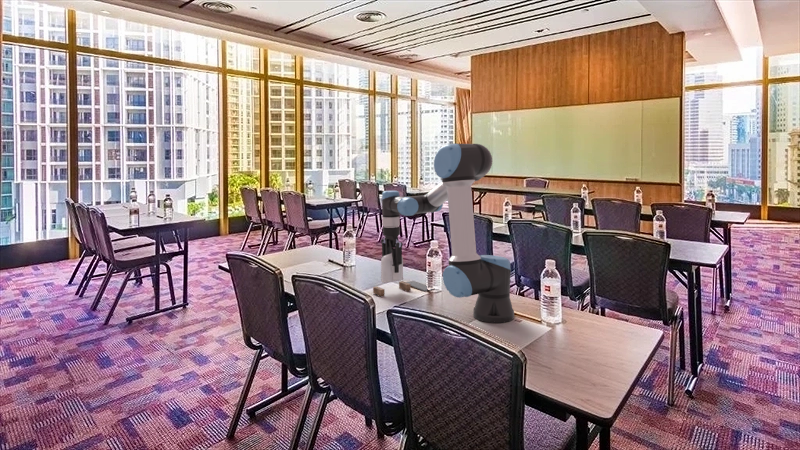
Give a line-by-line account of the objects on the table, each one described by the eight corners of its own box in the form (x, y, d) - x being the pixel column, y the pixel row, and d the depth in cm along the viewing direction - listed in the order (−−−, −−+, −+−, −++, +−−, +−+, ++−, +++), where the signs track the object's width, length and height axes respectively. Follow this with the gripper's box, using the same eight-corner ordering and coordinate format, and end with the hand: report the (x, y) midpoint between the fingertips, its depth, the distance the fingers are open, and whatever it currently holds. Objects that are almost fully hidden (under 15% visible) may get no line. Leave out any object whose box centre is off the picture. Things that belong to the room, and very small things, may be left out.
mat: (434, 289, 225) (434, 288, 225) (424, 291, 222) (424, 290, 222) (413, 281, 238) (413, 280, 238) (403, 283, 235) (403, 282, 235)
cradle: (410, 290, 224) (410, 284, 223) (380, 296, 214) (380, 290, 214) (402, 287, 228) (402, 281, 228) (373, 293, 219) (373, 287, 219)
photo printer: (399, 278, 225) (398, 251, 223) (404, 280, 222) (404, 253, 220) (379, 282, 219) (379, 254, 218) (384, 284, 216) (384, 256, 214)
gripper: (410, 227, 212) (410, 281, 215) (387, 223, 226) (388, 273, 229) (395, 229, 208) (396, 283, 211) (373, 225, 222) (374, 276, 225)
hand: (392, 278), depth 220 cm, fingers closed on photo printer, 4 cm apart
